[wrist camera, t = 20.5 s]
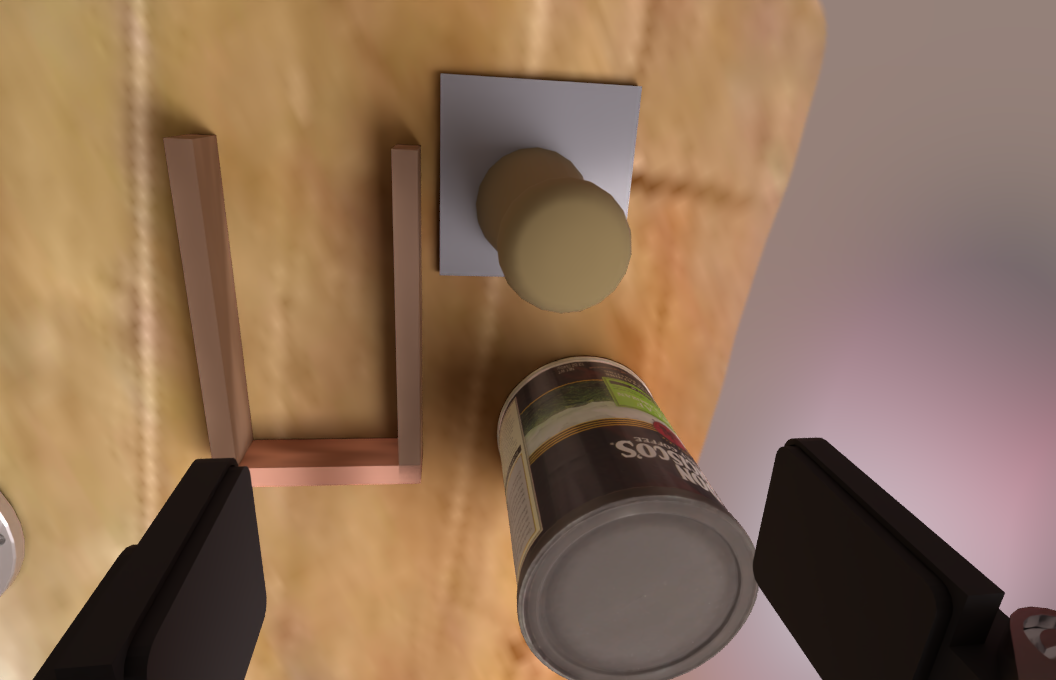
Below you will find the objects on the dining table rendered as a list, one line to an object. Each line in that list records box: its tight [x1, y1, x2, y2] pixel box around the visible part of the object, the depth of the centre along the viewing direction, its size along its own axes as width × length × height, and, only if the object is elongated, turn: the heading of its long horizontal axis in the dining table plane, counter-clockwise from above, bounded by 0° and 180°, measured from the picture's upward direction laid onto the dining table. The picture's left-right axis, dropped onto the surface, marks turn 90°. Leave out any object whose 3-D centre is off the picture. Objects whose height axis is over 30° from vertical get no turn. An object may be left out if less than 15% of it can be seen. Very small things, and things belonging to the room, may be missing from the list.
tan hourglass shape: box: [476, 147, 631, 313], centre depth 27 cm, size 6×6×11 cm
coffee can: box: [497, 356, 758, 680], centre depth 32 cm, size 10×10×14 cm
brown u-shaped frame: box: [163, 134, 423, 487], centre depth 32 cm, size 11×18×3 cm, turn 177°
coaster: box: [440, 73, 642, 277], centre depth 32 cm, size 10×10×1 cm
